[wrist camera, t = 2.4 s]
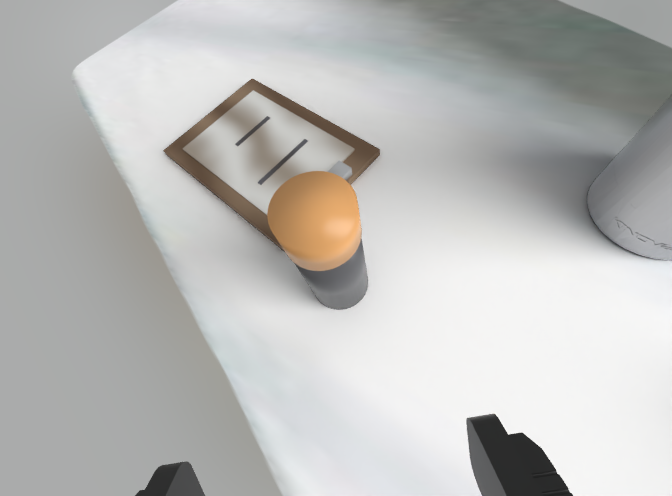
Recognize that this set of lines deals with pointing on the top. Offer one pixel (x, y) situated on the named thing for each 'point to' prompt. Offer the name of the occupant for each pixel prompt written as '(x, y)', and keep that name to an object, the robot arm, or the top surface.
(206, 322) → the top surface
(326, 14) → the top surface
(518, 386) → the top surface
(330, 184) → the orange-capped grey cylinder
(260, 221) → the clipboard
